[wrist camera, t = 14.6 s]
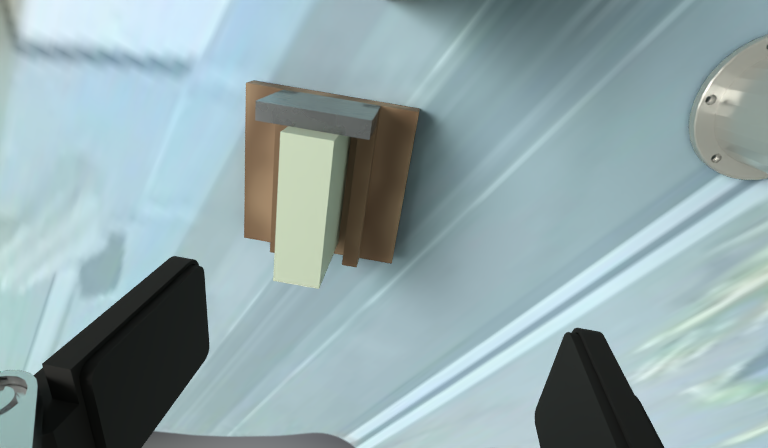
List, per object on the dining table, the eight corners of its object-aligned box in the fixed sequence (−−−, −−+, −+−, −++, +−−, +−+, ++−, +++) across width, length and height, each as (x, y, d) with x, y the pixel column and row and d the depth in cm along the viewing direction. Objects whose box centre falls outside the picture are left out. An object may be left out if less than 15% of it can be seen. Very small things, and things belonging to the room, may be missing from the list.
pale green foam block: (353, 117, 39) (334, 140, 31) (338, 241, 45) (319, 288, 37) (310, 110, 39) (280, 131, 31) (301, 235, 45) (273, 280, 37)
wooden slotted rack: (419, 108, 40) (418, 116, 37) (392, 254, 47) (390, 273, 43) (254, 80, 41) (237, 85, 37) (251, 229, 47) (236, 246, 44)
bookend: (381, 105, 38) (372, 120, 32) (378, 122, 39) (369, 139, 33) (283, 89, 39) (255, 100, 32) (282, 105, 39) (255, 120, 33)
